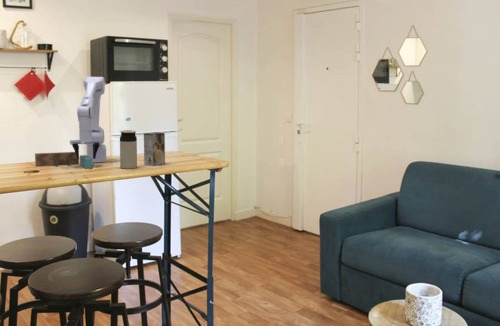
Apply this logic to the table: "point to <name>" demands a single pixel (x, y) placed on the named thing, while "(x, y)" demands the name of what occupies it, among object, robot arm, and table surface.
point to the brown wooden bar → (56, 159)
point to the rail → (86, 161)
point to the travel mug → (128, 149)
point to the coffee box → (154, 149)
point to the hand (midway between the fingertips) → (86, 158)
